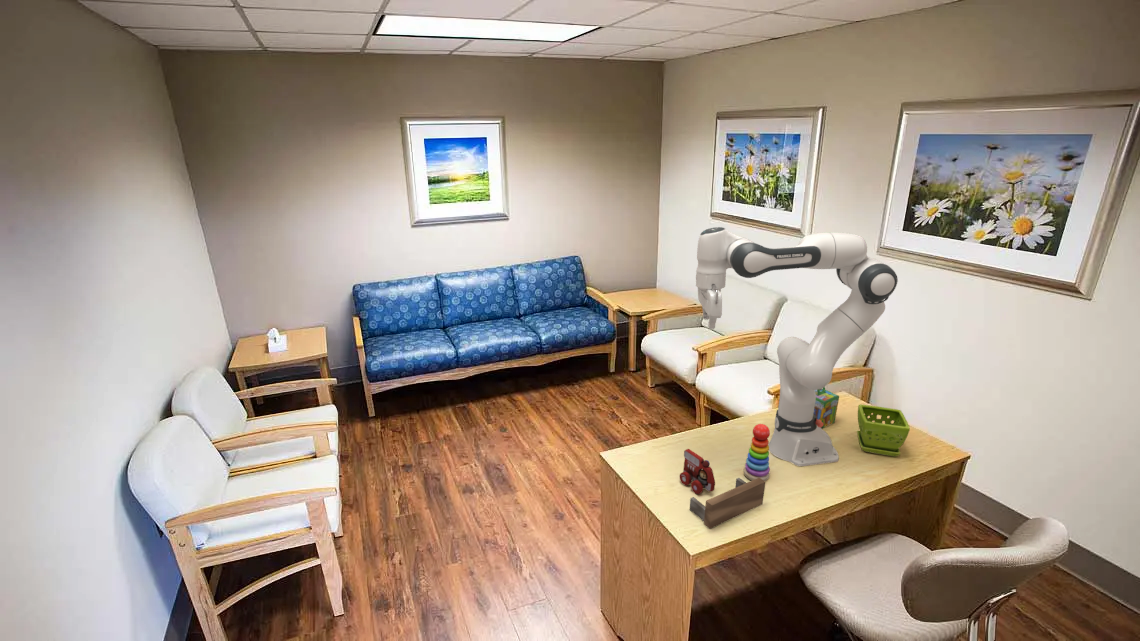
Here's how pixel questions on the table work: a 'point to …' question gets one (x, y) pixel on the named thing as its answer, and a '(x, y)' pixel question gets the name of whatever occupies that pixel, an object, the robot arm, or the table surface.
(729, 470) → the table surface
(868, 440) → the flower pot
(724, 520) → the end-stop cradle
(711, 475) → the toy fire truck
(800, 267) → the robot arm
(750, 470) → the stacking toy
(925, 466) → the table surface
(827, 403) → the chalk box
